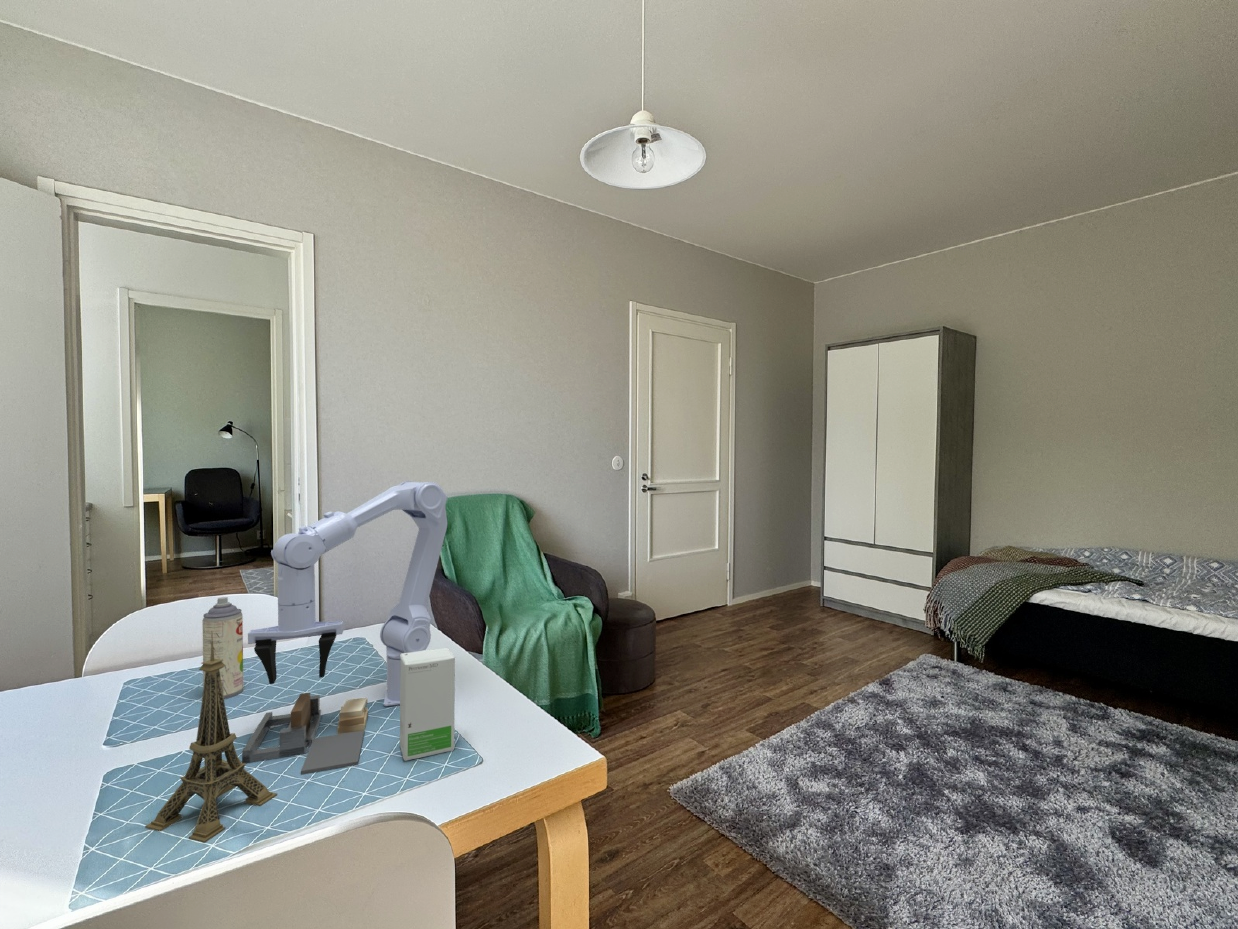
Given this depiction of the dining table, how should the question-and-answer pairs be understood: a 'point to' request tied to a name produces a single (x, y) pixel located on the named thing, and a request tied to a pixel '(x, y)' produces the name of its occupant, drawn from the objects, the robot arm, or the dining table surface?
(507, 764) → the dining table surface
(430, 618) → the robot arm
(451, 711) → the skincare box
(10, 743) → the dining table surface
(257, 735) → the rack
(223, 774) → the eiffel tower
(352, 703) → the offcut stack
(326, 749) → the mat
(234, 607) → the aerosol can
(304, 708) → the walnut sheet
